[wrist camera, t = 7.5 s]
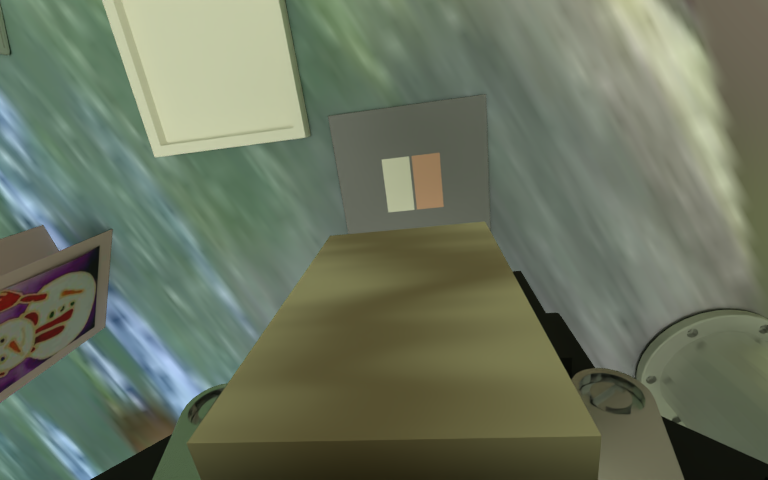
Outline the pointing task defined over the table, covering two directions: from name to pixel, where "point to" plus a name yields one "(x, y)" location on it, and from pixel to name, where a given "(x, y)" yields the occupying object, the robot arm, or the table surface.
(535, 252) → the table surface
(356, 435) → the beech block
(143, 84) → the cream tray
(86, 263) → the greeting card
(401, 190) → the tile
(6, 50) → the supplement box
